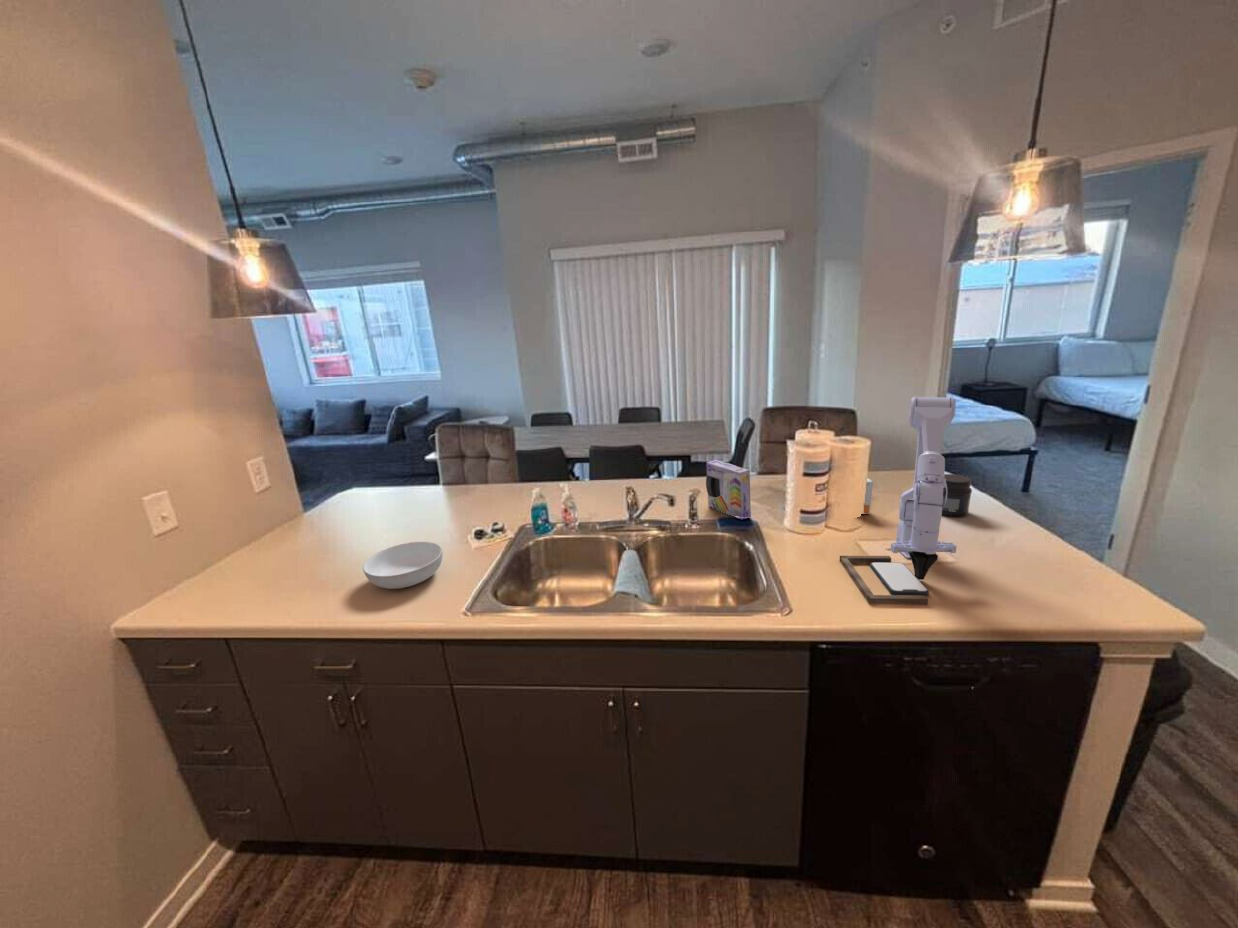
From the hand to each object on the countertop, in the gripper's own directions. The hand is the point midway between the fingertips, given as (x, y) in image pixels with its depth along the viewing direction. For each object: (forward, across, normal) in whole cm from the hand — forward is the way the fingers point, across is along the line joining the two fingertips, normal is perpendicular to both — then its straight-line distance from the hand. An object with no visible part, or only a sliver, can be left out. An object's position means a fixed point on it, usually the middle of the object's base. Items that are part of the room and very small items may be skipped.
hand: (919, 577), depth 126 cm
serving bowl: (+1, -138, 0) cm, 138 cm away
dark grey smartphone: (+2, -5, 0) cm, 5 cm away
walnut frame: (+1, -9, 0) cm, 9 cm away
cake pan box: (+1, -43, +48) cm, 64 cm away
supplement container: (+1, +30, +46) cm, 55 cm away
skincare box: (+1, +1, +46) cm, 46 cm away
